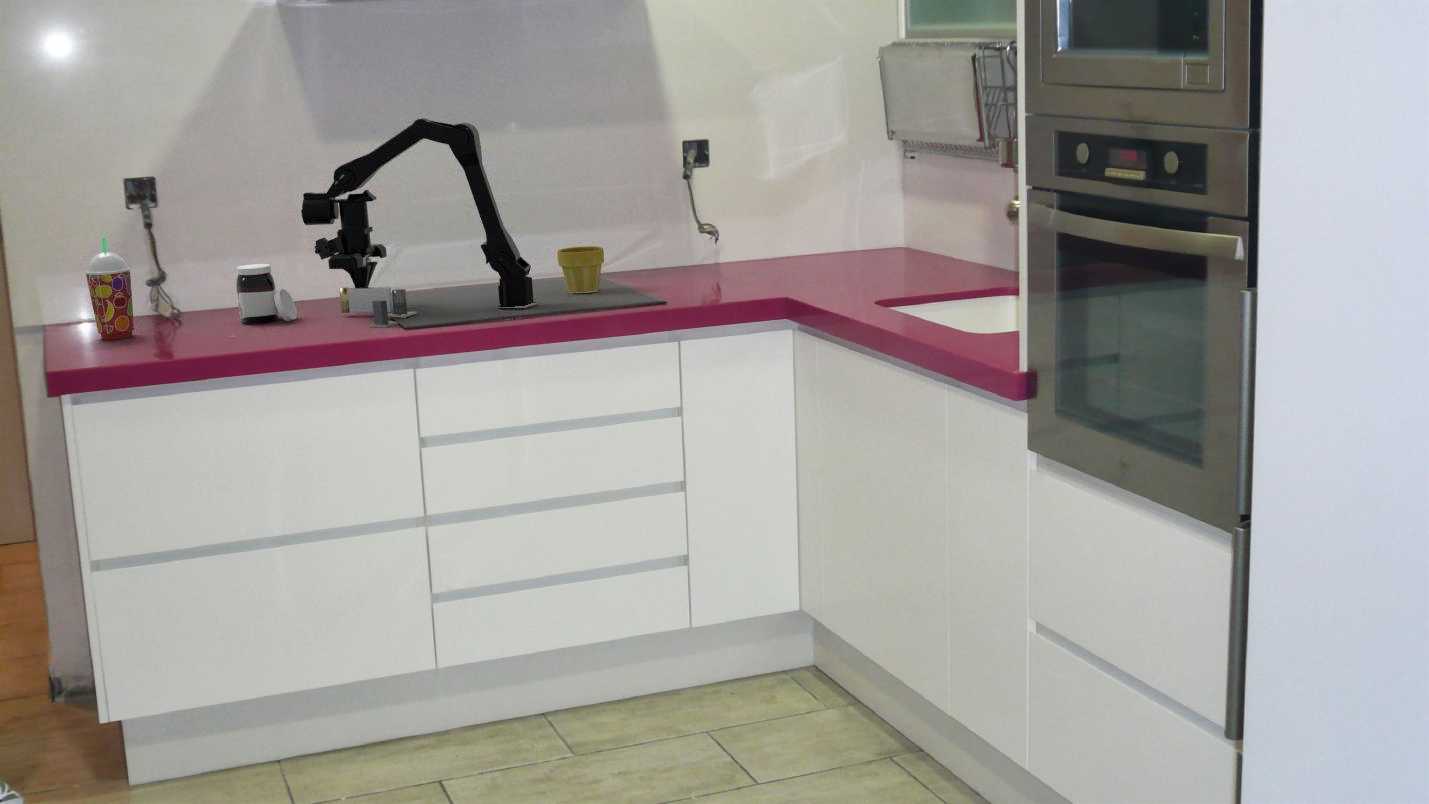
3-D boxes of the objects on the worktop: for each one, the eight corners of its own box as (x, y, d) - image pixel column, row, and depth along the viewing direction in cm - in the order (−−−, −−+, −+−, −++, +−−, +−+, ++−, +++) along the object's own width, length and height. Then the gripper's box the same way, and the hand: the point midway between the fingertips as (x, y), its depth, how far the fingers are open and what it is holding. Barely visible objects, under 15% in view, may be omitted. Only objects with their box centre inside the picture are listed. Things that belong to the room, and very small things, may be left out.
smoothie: (102, 334, 288) (88, 236, 284) (144, 332, 289) (131, 234, 284) (88, 342, 280) (74, 241, 275) (131, 340, 281) (118, 239, 276)
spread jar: (238, 319, 300) (231, 265, 298) (293, 314, 304) (287, 260, 302) (243, 328, 289) (237, 271, 287) (300, 322, 294) (294, 266, 291)
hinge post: (417, 314, 298) (415, 288, 296) (404, 318, 293) (402, 292, 292) (397, 313, 300) (395, 287, 298) (384, 317, 295) (381, 291, 294)
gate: (393, 310, 298) (391, 286, 296) (389, 312, 296) (387, 288, 294) (344, 310, 300) (341, 287, 298) (339, 312, 297) (337, 289, 296)
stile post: (397, 324, 287) (395, 299, 286) (386, 327, 283) (384, 303, 282) (381, 323, 288) (378, 299, 287) (369, 327, 285) (367, 302, 284)
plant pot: (551, 295, 315) (548, 251, 313) (573, 288, 325) (570, 245, 322) (593, 296, 312) (590, 252, 309) (613, 289, 321) (611, 246, 319)
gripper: (334, 219, 307) (341, 290, 311) (300, 229, 289) (308, 305, 293) (384, 218, 306) (390, 289, 310) (352, 228, 288) (360, 304, 292)
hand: (362, 296), depth 301 cm, fingers closed
